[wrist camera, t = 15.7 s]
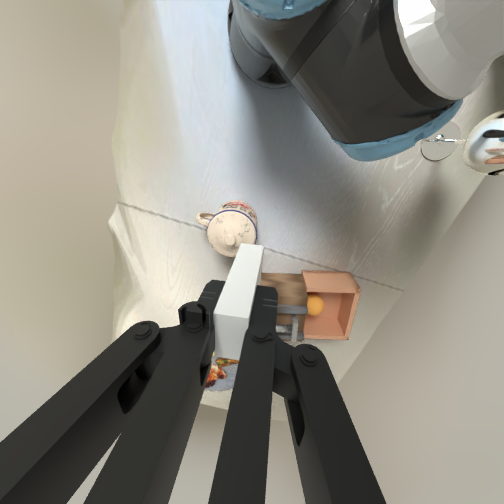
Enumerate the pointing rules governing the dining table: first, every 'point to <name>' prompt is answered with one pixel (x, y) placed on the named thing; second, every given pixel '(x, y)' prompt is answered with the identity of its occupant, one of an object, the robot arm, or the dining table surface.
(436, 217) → the dining table surface
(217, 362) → the food plate
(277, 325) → the plunger
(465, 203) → the dining table surface
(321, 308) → the ball
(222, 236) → the teacup with lid
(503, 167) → the wineglass
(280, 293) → the launcher
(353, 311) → the cup
